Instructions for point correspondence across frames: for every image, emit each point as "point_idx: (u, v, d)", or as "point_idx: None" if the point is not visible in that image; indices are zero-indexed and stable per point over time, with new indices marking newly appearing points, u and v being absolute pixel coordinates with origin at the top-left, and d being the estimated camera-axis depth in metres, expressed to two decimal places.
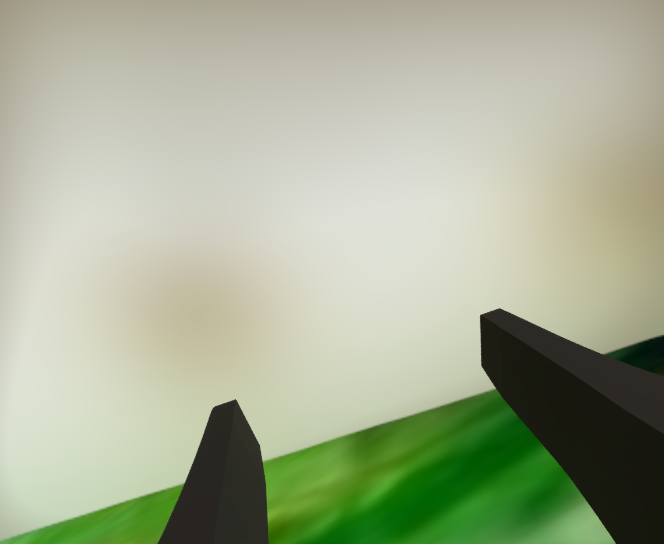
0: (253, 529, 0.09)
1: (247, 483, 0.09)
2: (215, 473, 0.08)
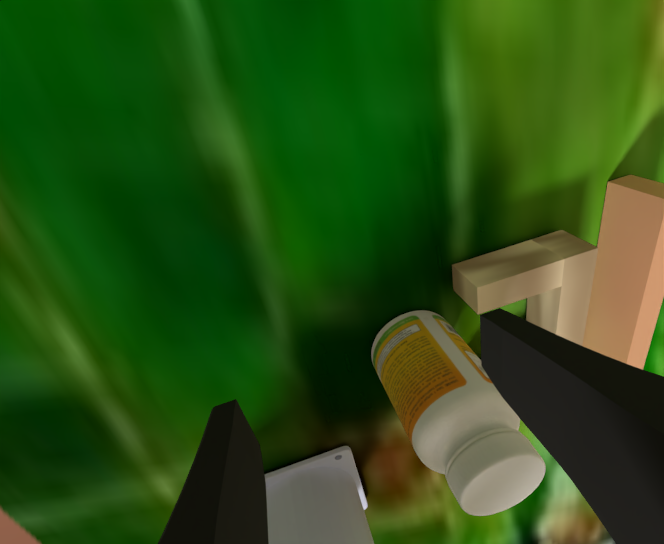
0: (253, 529, 0.09)
1: (247, 483, 0.09)
2: (215, 473, 0.08)
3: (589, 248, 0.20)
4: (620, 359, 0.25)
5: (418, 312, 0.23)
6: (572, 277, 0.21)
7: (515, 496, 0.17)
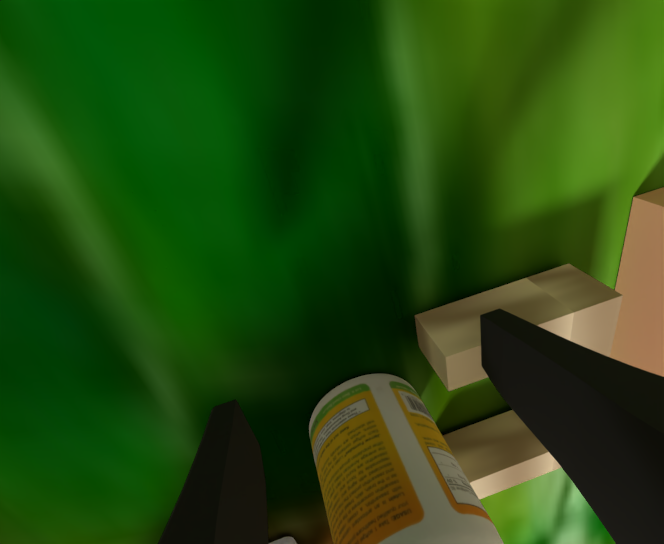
0: (253, 529, 0.09)
1: (247, 483, 0.09)
2: (215, 473, 0.08)
3: (609, 296, 0.14)
4: None
5: (370, 378, 0.16)
6: (584, 335, 0.15)
7: None
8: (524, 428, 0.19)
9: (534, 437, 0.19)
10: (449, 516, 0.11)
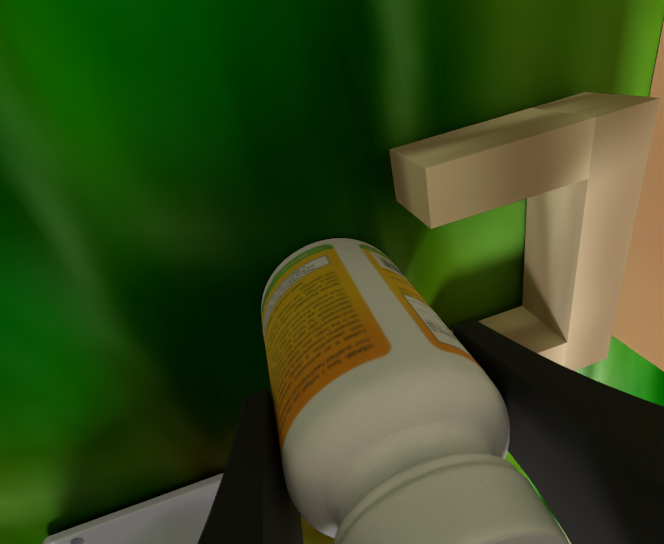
0: (289, 515, 0.09)
1: (282, 470, 0.09)
2: (255, 458, 0.08)
3: (641, 101, 0.11)
4: None
5: (335, 240, 0.13)
6: (608, 160, 0.11)
7: None
8: (529, 324, 0.16)
9: (541, 332, 0.15)
10: (427, 351, 0.08)
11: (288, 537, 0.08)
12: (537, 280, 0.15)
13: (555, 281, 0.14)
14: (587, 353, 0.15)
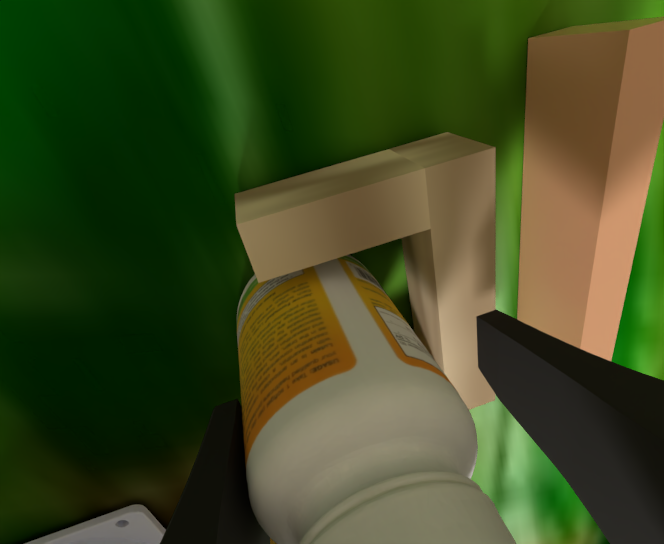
0: (255, 528, 0.09)
1: None
2: (217, 472, 0.08)
3: (477, 150, 0.10)
4: None
5: None
6: (450, 210, 0.11)
7: None
8: None
9: None
10: (392, 365, 0.08)
11: None
12: (419, 320, 0.15)
13: (429, 324, 0.14)
14: (471, 396, 0.15)
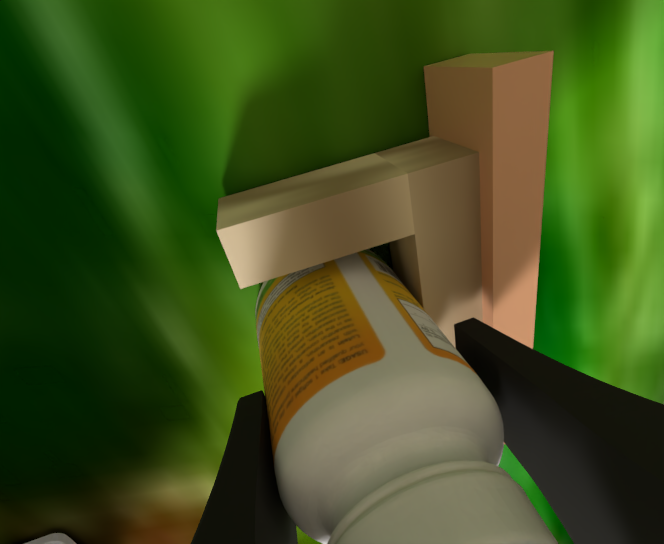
0: (284, 517, 0.09)
1: None
2: (249, 461, 0.08)
3: (460, 155, 0.10)
4: None
5: None
6: (434, 215, 0.11)
7: None
8: None
9: None
10: (421, 356, 0.08)
11: (282, 539, 0.08)
12: None
13: None
14: None
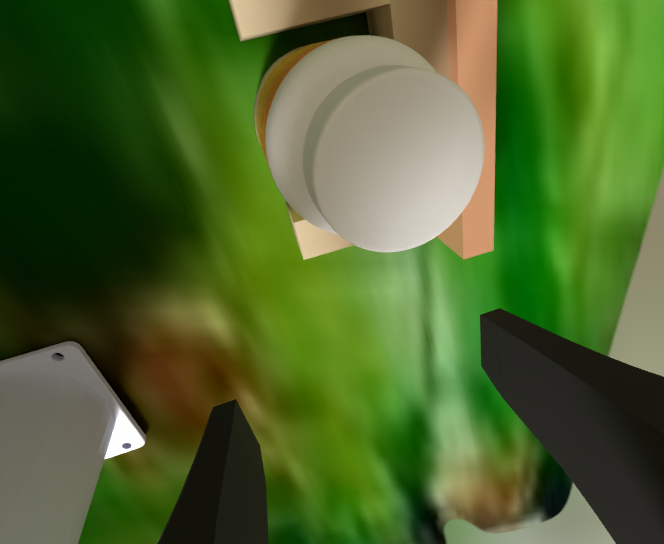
0: (253, 529, 0.09)
1: (247, 483, 0.09)
2: (215, 473, 0.08)
3: None
4: None
5: None
6: None
7: (430, 210, 0.09)
8: None
9: None
10: None
11: None
12: None
13: None
14: None
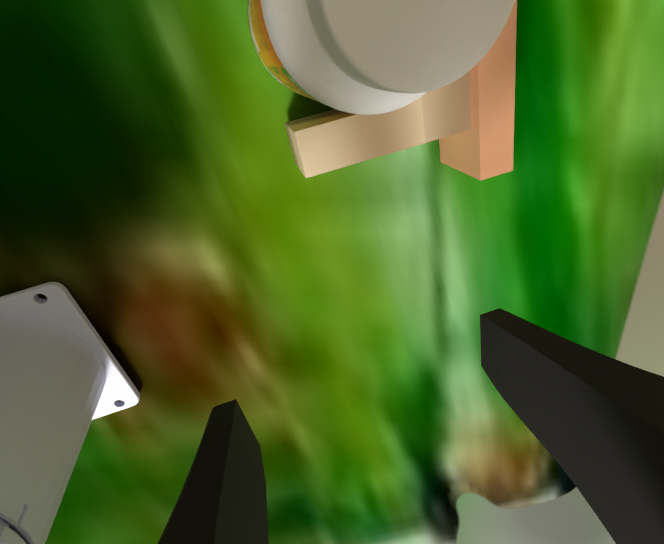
0: (253, 529, 0.09)
1: (247, 483, 0.09)
2: (215, 473, 0.08)
3: None
4: (472, 113, 0.15)
5: None
6: None
7: (458, 34, 0.07)
8: None
9: None
10: None
11: None
12: None
13: None
14: (447, 117, 0.15)
